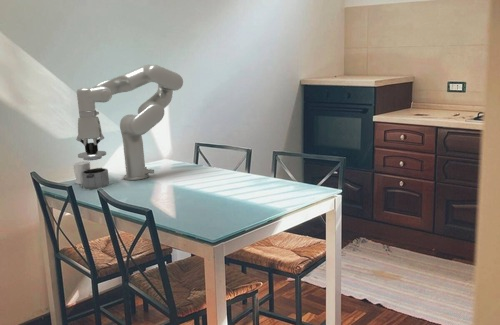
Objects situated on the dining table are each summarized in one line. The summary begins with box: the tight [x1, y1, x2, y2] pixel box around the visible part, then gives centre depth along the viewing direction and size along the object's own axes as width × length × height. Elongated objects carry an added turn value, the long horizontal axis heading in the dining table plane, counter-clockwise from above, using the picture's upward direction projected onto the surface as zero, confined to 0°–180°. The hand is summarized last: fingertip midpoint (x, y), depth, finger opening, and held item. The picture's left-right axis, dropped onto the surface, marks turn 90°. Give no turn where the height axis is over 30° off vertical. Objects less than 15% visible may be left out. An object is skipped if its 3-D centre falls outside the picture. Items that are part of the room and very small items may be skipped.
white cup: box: [72, 160, 91, 185], centre depth 264 cm, size 8×8×10 cm
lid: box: [77, 142, 107, 161], centre depth 255 cm, size 13×13×8 cm
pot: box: [81, 167, 110, 190], centre depth 258 cm, size 12×17×7 cm
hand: (92, 152), depth 255 cm, fingers closed on lid, 2 cm apart
